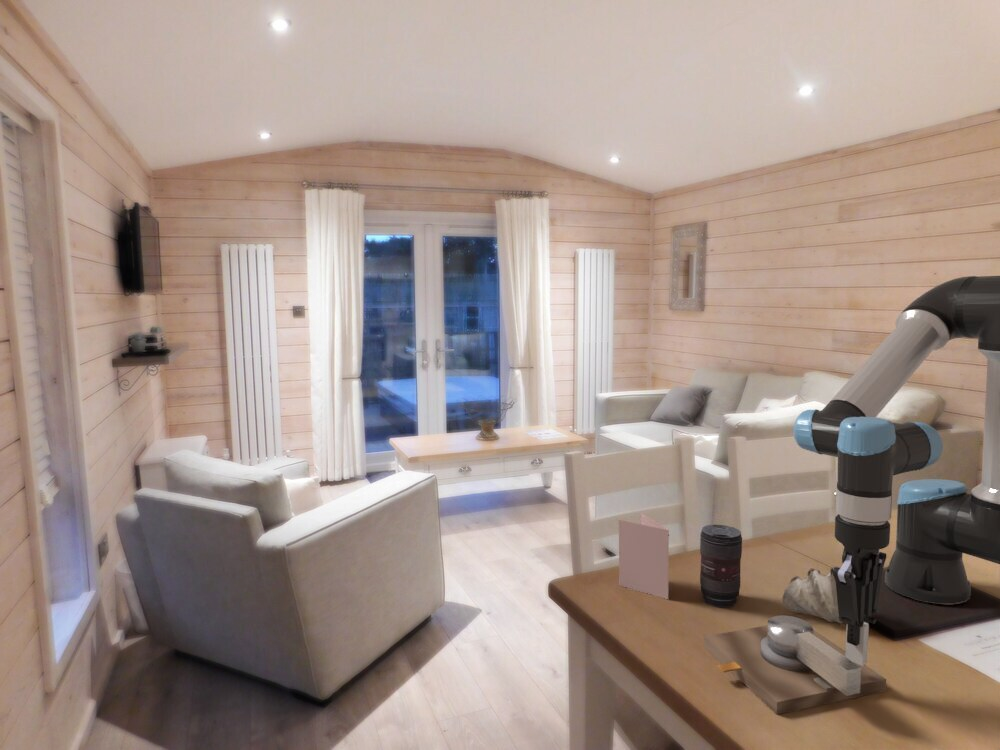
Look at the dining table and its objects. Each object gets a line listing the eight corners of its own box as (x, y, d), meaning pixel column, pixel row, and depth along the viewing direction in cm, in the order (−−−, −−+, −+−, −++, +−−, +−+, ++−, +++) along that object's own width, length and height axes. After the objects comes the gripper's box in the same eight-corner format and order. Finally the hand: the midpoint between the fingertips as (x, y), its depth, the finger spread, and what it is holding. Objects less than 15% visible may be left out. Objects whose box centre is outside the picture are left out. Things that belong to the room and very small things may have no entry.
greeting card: (672, 599, 138) (672, 529, 136) (640, 604, 136) (639, 534, 134) (645, 577, 149) (644, 512, 147) (614, 582, 147) (614, 516, 145)
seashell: (860, 641, 119) (862, 589, 118) (778, 614, 130) (780, 565, 129) (880, 621, 126) (882, 571, 125) (800, 596, 137) (802, 550, 136)
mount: (799, 629, 124) (799, 612, 124) (885, 690, 105) (886, 670, 104) (688, 649, 118) (688, 631, 118) (758, 718, 99) (759, 696, 99)
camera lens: (743, 610, 132) (745, 538, 130) (701, 607, 134) (702, 536, 132) (737, 592, 140) (739, 524, 138) (698, 590, 141) (698, 522, 140)
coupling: (758, 639, 114) (758, 617, 113) (793, 633, 116) (793, 611, 115) (833, 698, 97) (834, 673, 97) (872, 690, 99) (873, 665, 98)
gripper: (857, 503, 109) (851, 637, 112) (817, 520, 102) (811, 664, 105) (906, 514, 104) (899, 656, 106) (868, 534, 96) (861, 686, 99)
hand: (856, 660), depth 105 cm, fingers closed
